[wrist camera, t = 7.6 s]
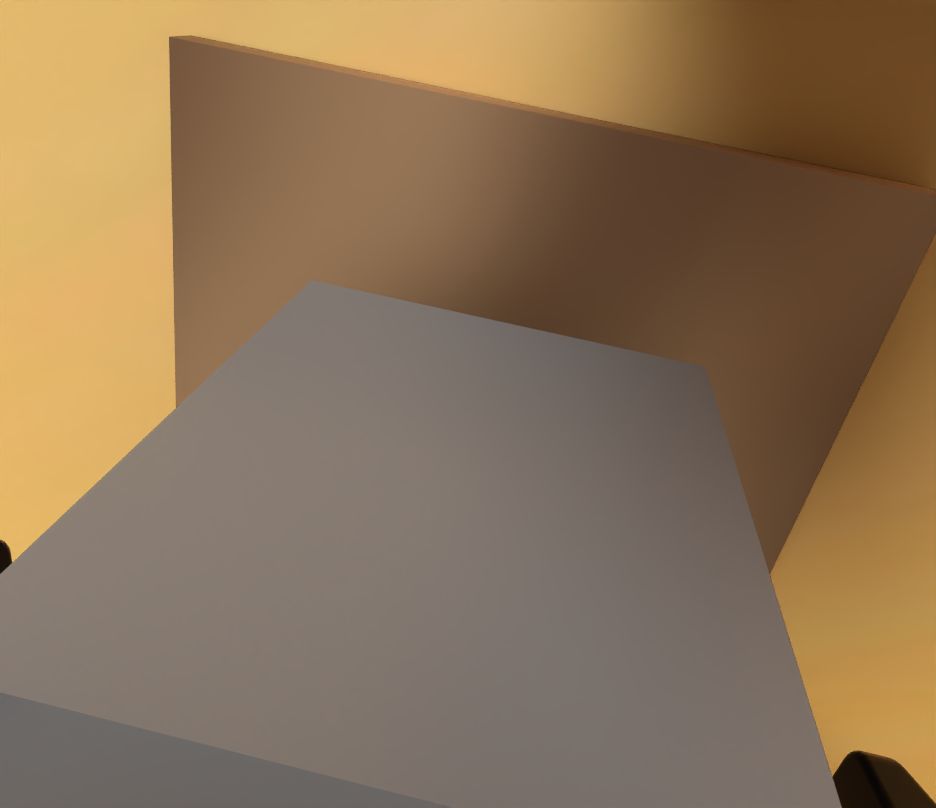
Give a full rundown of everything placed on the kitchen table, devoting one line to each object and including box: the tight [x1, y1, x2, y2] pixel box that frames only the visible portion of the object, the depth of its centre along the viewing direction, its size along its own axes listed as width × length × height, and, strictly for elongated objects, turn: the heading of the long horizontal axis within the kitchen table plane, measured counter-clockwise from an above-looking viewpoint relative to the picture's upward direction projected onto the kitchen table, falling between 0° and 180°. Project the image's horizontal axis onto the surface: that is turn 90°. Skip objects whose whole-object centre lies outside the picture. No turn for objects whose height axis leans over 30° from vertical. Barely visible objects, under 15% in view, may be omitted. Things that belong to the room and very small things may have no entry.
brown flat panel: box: [169, 36, 936, 574], centre depth 9 cm, size 10×10×8 cm
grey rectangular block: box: [0, 280, 842, 808], centre depth 8 cm, size 5×5×7 cm
